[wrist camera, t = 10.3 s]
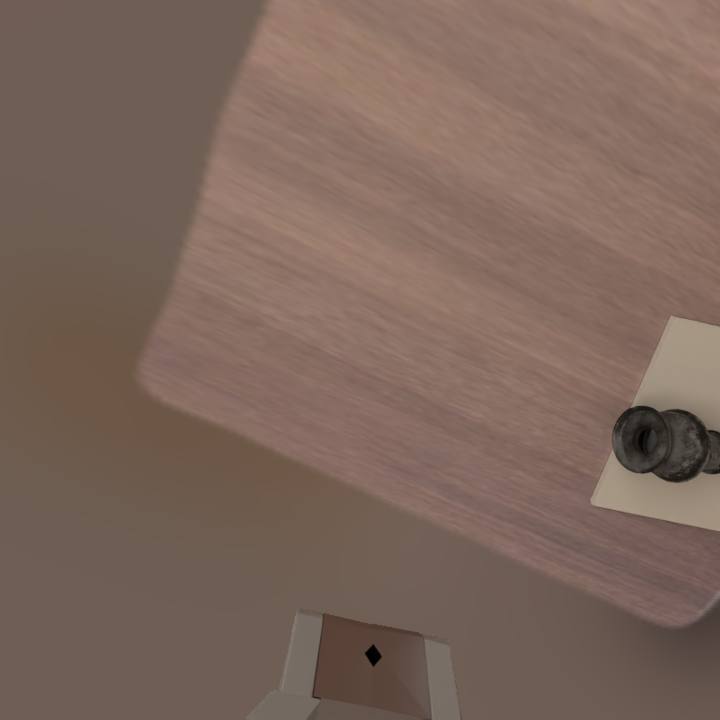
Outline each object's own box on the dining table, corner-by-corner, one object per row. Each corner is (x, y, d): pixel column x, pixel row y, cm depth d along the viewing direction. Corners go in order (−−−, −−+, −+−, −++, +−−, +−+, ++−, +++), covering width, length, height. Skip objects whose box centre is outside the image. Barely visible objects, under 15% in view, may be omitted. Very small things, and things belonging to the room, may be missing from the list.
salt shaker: (601, 419, 40) (705, 439, 43) (620, 486, 37) (731, 503, 40) (658, 388, 35) (771, 413, 39) (686, 463, 32) (806, 483, 35)
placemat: (670, 315, 37) (675, 317, 37) (834, 351, 38) (841, 353, 37) (589, 501, 43) (592, 505, 42) (733, 530, 44) (737, 535, 43)
